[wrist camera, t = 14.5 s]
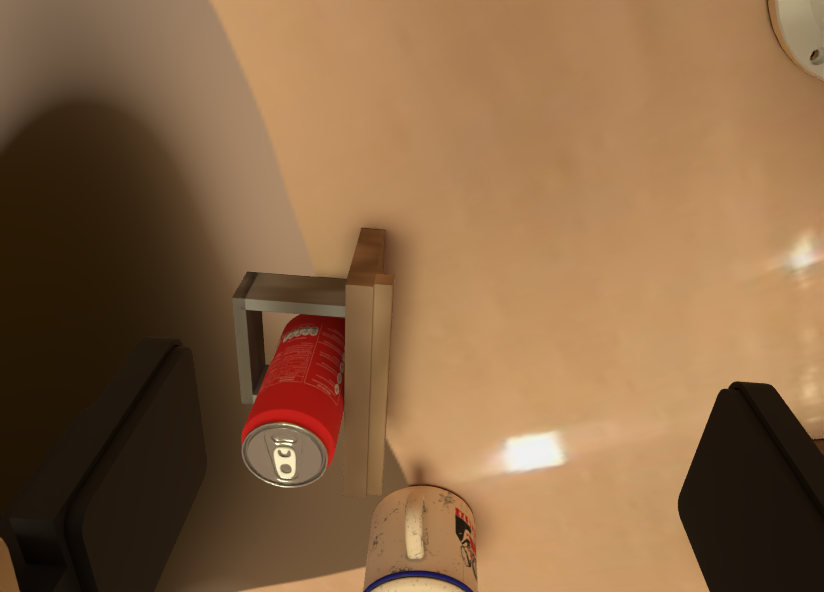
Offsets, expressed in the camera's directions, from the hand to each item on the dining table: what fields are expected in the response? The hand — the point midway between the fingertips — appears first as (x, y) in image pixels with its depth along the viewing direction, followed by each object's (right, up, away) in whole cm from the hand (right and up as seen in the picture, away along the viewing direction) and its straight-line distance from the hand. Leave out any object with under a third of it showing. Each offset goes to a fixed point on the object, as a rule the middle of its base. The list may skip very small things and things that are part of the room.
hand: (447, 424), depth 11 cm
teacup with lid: (0, -15, +42) cm, 44 cm away
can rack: (-8, 0, +33) cm, 34 cm away
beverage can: (-7, 0, +33) cm, 34 cm away
